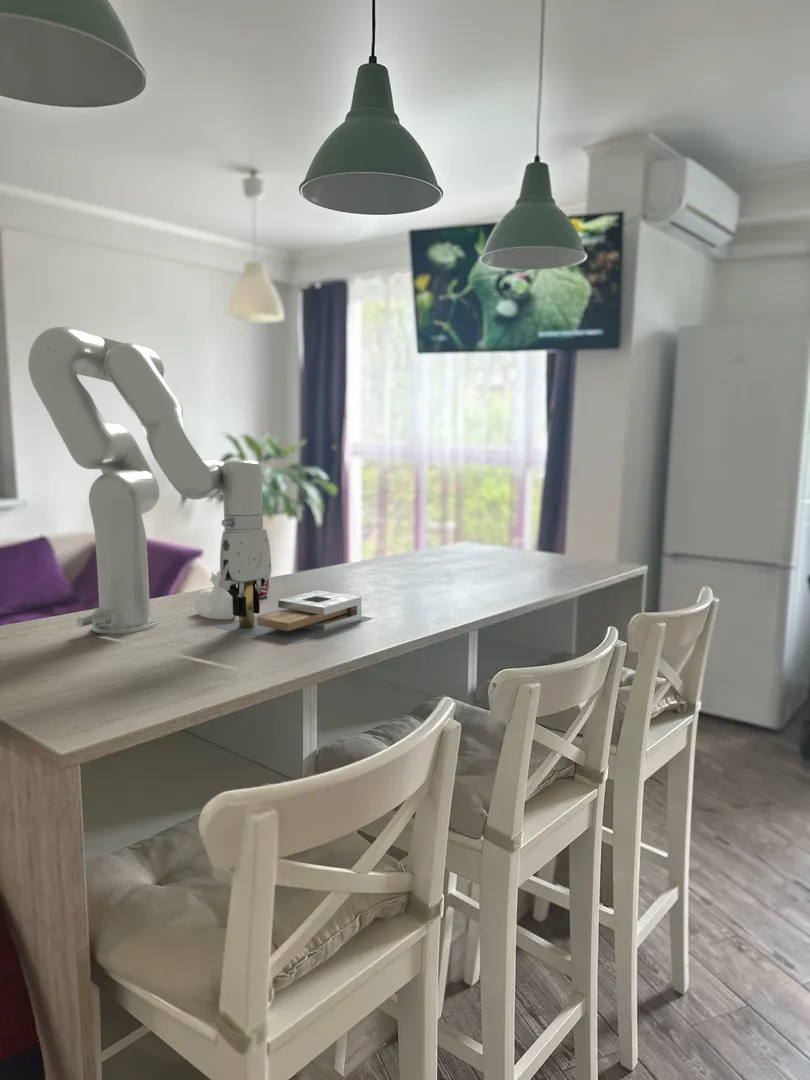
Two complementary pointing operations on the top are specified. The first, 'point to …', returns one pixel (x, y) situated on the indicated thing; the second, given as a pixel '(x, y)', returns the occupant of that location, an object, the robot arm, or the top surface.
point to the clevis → (314, 612)
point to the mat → (282, 635)
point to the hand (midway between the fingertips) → (246, 613)
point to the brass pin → (248, 606)
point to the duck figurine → (215, 601)
